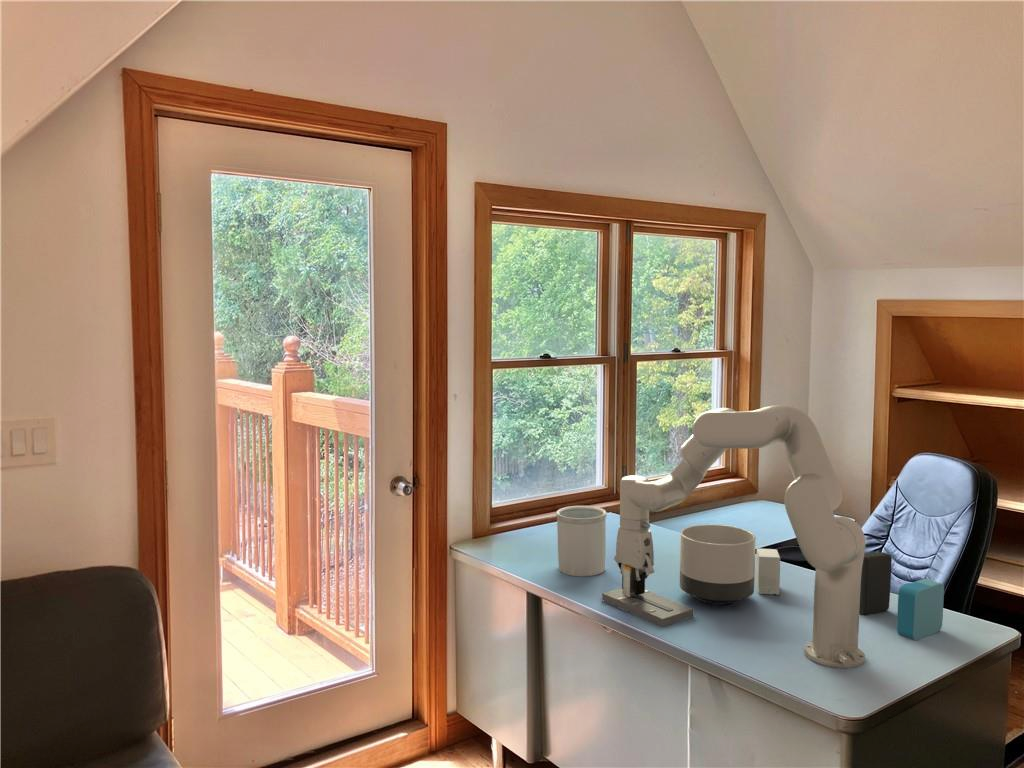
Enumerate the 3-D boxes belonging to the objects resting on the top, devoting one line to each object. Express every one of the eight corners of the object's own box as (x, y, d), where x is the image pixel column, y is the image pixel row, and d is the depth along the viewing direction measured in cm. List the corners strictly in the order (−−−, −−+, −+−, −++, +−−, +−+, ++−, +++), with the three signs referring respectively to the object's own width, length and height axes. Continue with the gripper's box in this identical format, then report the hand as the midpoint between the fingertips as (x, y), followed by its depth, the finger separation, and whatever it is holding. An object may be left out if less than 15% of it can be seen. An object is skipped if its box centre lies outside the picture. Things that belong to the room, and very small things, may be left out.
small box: (779, 595, 225) (780, 557, 224) (758, 594, 226) (759, 556, 225) (776, 585, 233) (777, 548, 232) (755, 584, 234) (756, 547, 233)
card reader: (879, 606, 217) (881, 550, 215) (891, 611, 213) (893, 554, 212) (851, 611, 214) (853, 554, 212) (863, 616, 210) (865, 558, 208)
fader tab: (643, 592, 220) (643, 564, 219) (629, 596, 217) (630, 567, 216) (636, 590, 222) (637, 561, 221) (623, 594, 219) (623, 565, 218)
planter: (753, 589, 229) (755, 527, 228) (754, 615, 211) (756, 547, 209) (682, 583, 235) (683, 522, 233) (676, 608, 216) (677, 541, 214)
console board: (693, 616, 210) (693, 608, 210) (662, 626, 204) (662, 618, 204) (632, 591, 228) (632, 584, 228) (602, 600, 222) (602, 592, 221)
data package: (924, 624, 205) (926, 577, 204) (942, 630, 201) (945, 582, 200) (895, 635, 198) (898, 586, 197) (913, 641, 195) (916, 592, 193)
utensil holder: (551, 575, 242) (551, 516, 240) (560, 559, 256) (561, 504, 254) (602, 579, 238) (602, 519, 236) (608, 563, 253) (609, 506, 251)
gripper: (667, 528, 213) (666, 597, 215) (622, 514, 227) (622, 579, 229) (646, 533, 209) (645, 603, 211) (602, 518, 222) (601, 585, 224)
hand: (633, 590), depth 220 cm, fingers open, 3 cm apart
